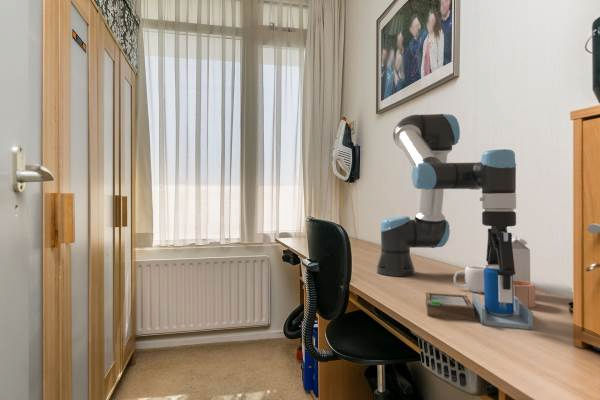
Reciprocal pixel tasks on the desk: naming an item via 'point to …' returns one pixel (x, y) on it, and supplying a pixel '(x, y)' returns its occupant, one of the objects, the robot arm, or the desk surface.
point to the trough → (516, 320)
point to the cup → (524, 292)
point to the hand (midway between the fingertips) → (499, 295)
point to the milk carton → (521, 259)
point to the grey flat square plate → (449, 300)
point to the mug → (473, 278)
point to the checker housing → (449, 308)
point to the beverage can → (495, 293)
